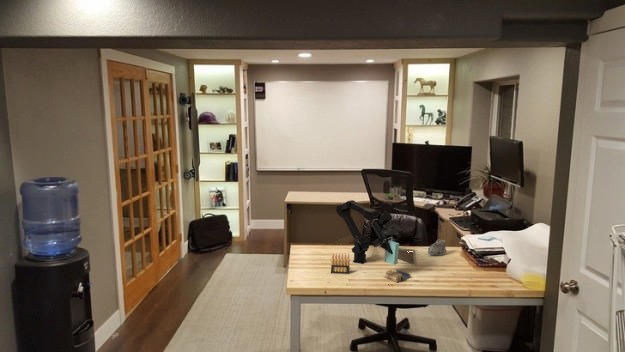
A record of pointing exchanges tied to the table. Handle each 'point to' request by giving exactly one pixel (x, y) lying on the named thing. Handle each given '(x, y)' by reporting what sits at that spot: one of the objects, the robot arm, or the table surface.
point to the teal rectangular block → (393, 257)
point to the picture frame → (404, 256)
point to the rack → (404, 275)
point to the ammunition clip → (339, 267)
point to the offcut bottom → (393, 279)
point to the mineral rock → (437, 248)
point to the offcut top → (394, 274)
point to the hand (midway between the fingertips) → (394, 253)
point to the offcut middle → (392, 276)
